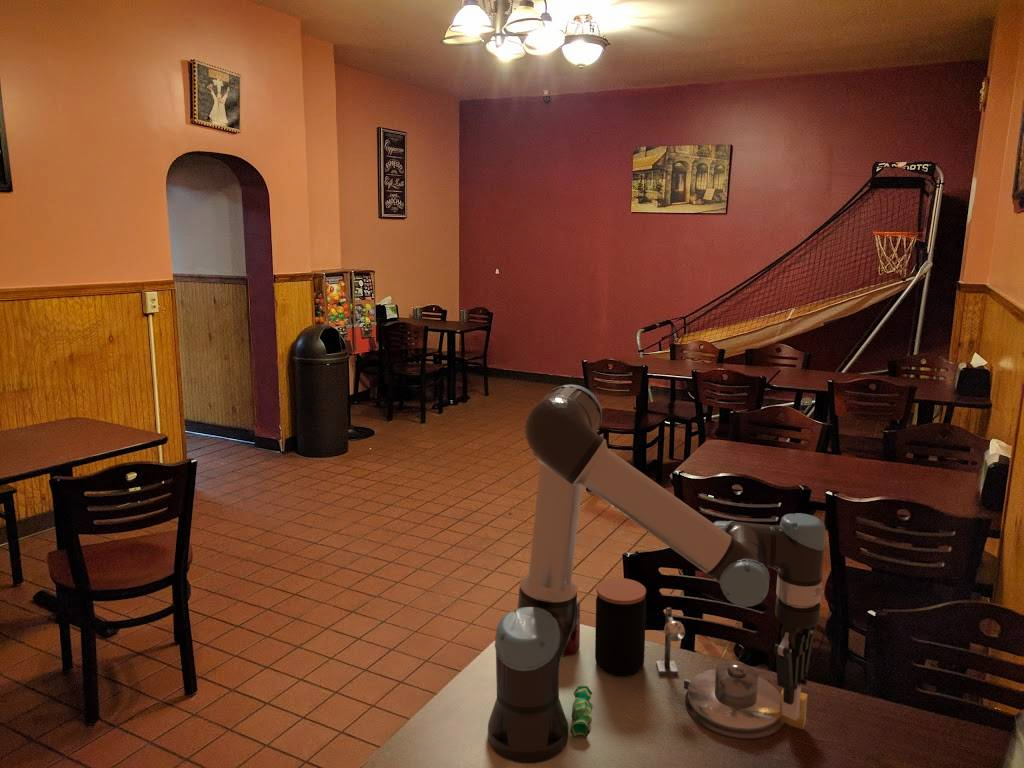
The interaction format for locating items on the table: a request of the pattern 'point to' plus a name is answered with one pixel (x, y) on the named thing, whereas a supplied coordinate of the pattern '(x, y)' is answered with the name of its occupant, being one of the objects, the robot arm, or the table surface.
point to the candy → (581, 711)
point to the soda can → (574, 638)
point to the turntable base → (728, 733)
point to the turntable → (740, 720)
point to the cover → (736, 684)
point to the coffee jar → (620, 626)
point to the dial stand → (672, 633)
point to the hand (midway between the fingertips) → (790, 715)
